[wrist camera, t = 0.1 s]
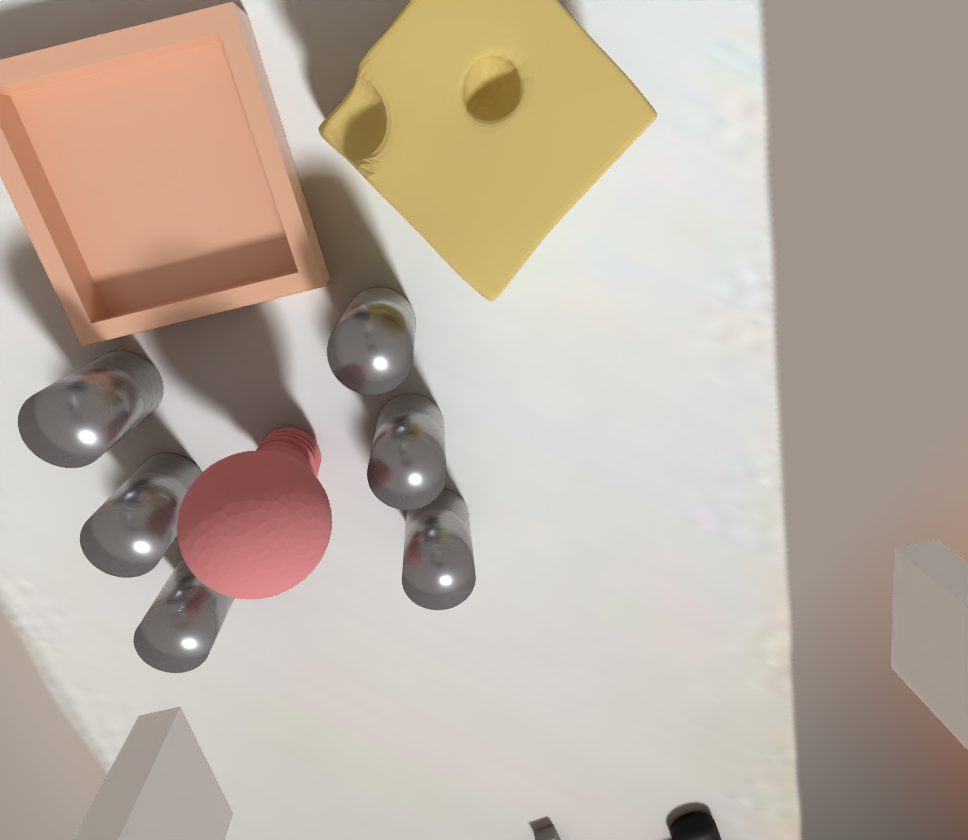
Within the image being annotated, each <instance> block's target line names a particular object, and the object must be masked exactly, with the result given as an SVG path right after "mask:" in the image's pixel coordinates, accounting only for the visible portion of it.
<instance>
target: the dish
mask: <svg viewBox="0 0 968 840" xmlns="http://www.w3.org/2000/svg"><path fill="white" fill-rule="evenodd" d="M0 176H1V178H2V180H3V183H4V185H5V187H6V189H7V191H8V193H9V195H10V197H11V199H12V202H13V204H14V206H15V208H16V210H17V212H18V214H19V216H20V218H21V221H22V223H23V225H24V227H25V229H26V231H27V233H28V235H29V237H30V240H31V242H32V244H33V246H34V248H35V250H36V252H37V254H38V256H39V259H40V261H41V263H42V265H43V267H44V269H45V271H46V273H47V275H48V278H49V280H50V282H51V284H52V286H53V288H54V290H55V292H56V294H57V297H58V299H59V301H60V303H61V305H62V307H63V309H64V311H65V314H66V316H67V318H68V320H69V322H70V324H71V326H72V328H73V330H74V333H75V335H76V337H77V339H78V341H79V343H80V345H81V346H85V345H89V344H93V343H97V342H101V341H105V340H110V339H114V338H118V337H122V336H126V335H130V334H134V333H138V332H142V331H146V330H150V329H154V328H158V327H162V326H166V325H170V324H175V323H179V322H183V321H187V320H191V319H195V318H199V317H203V316H207V315H211V314H215V313H219V312H223V311H227V310H231V309H236V308H240V307H244V306H248V305H252V304H256V303H260V302H264V301H268V300H272V299H276V298H280V297H284V296H288V295H292V294H297V293H301V292H305V291H309V290H313V289H317V288H321V287H324V286H325V285H326V284H327V282H328V281H329V280H330V276H329V272H328V269H327V266H326V263H325V260H324V257H323V253H322V250H321V247H320V244H319V241H318V237H317V234H316V231H315V228H314V225H313V222H312V218H311V215H310V212H309V209H308V206H307V202H306V199H305V196H304V193H303V190H302V187H301V183H300V180H299V177H298V174H297V171H296V167H295V164H294V161H293V158H292V155H291V152H290V148H289V145H288V142H287V139H286V136H285V132H284V129H283V126H282V123H281V120H280V117H279V113H278V110H277V107H276V104H275V101H274V97H273V94H272V91H271V88H270V85H269V82H268V78H267V75H266V72H265V69H264V66H263V62H262V59H261V56H260V53H259V50H258V47H257V43H256V40H255V37H254V34H253V31H252V27H251V24H250V21H249V18H248V15H247V14H246V13H245V12H244V11H243V10H242V9H240V8H239V7H238V6H237V5H236V4H235V3H233V2H228V3H224V4H220V5H216V6H212V7H208V8H204V9H200V10H196V11H192V12H189V13H185V14H181V15H177V16H173V17H169V18H165V19H161V20H157V21H153V22H149V23H145V24H141V25H137V26H133V27H129V28H125V29H121V30H117V31H113V32H109V33H105V34H101V35H97V36H93V37H89V38H85V39H81V40H77V41H73V42H69V43H65V44H61V45H57V46H53V47H49V48H45V49H41V50H37V51H33V52H29V53H25V54H21V55H17V56H13V57H9V58H5V59H1V60H0Z"/></svg>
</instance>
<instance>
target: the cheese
mask: <svg viewBox="0 0 968 840" xmlns="http://www.w3.org/2000/svg"><path fill="white" fill-rule="evenodd" d="M656 117H657V113H656V111H655V110H654V108H653V107H652V106H651V104H650V103H649V102H648V101H647V99H646V98H645V97H644V96H643V94H642V93H641V92H640V91H639V89H638V88H637V87H636V86H635V85H634V83H633V82H632V81H631V80H630V79H629V78H628V77H627V75H626V74H625V73H624V72H623V71H622V70H621V69H620V68H619V67H618V66H617V65H616V64H615V62H614V61H613V60H612V59H611V58H610V57H609V56H608V55H607V54H606V53H605V52H604V51H603V50H602V49H601V48H600V47H599V46H598V44H597V43H596V42H595V41H594V40H593V39H592V38H591V37H590V36H589V35H588V34H587V33H586V32H585V30H584V29H583V28H582V27H581V26H580V25H579V24H578V23H577V22H576V21H575V20H574V18H573V17H572V16H571V15H570V14H569V13H568V12H567V10H566V9H565V8H564V7H563V6H562V5H561V4H560V3H559V1H558V0H410V1H409V3H408V4H407V5H406V6H405V8H404V9H403V10H402V11H401V13H400V14H399V15H398V16H397V18H396V19H395V20H394V21H393V23H392V24H391V25H390V26H389V27H388V29H387V30H386V31H385V32H384V33H383V34H382V35H381V37H380V38H379V39H378V40H377V41H376V42H375V44H374V45H373V46H372V47H371V48H370V49H369V51H368V52H367V54H366V55H365V57H364V58H363V59H362V61H361V62H360V64H359V67H358V71H357V76H356V81H355V83H354V85H353V87H352V88H351V90H350V91H349V92H348V94H347V95H346V96H345V97H344V99H343V100H342V101H341V102H340V103H339V105H338V106H337V107H336V108H335V109H334V110H333V111H332V112H331V113H330V114H329V115H328V117H327V118H326V119H325V120H324V121H323V122H322V124H321V125H320V127H319V132H320V134H321V136H322V137H323V138H324V139H325V140H326V141H327V142H328V143H329V144H330V145H331V146H332V147H333V148H334V149H336V150H337V151H338V152H339V153H340V154H341V155H342V156H344V157H345V158H346V159H347V160H348V161H349V162H350V163H351V164H352V165H353V166H354V167H355V168H356V169H357V170H358V171H359V172H360V173H361V174H362V175H363V176H364V177H365V179H366V180H367V181H368V182H369V183H370V184H371V185H372V186H373V187H374V188H375V189H376V190H377V191H378V192H379V193H380V194H381V195H382V196H383V197H384V198H385V199H386V200H387V201H388V202H389V203H390V204H391V205H392V206H393V207H394V208H395V209H396V210H397V211H398V212H399V213H400V214H401V215H402V216H403V217H404V218H405V219H406V220H407V221H408V222H409V223H410V224H411V225H412V226H413V227H414V228H415V229H416V230H417V231H418V232H419V233H420V234H421V235H422V236H423V237H424V238H425V239H426V241H427V242H428V243H429V244H430V245H431V246H432V247H433V248H434V249H435V250H436V251H437V252H438V253H439V255H440V256H441V257H442V258H443V259H444V260H445V261H446V262H447V263H448V264H449V265H450V266H451V267H452V268H453V269H454V270H455V271H456V272H457V273H458V274H459V275H460V276H461V277H462V278H463V279H464V280H465V281H466V282H467V283H468V284H469V285H471V286H472V287H473V288H474V289H475V290H476V291H477V292H479V293H480V294H481V295H482V296H483V297H485V298H486V299H487V300H489V301H493V300H495V299H496V298H497V297H498V296H499V295H500V293H501V292H502V291H503V290H504V289H505V287H506V286H507V285H508V284H509V282H510V281H511V280H512V279H513V277H514V276H515V275H516V273H517V272H518V271H519V270H520V268H521V267H522V266H523V264H524V263H525V262H526V261H527V259H528V258H529V257H530V255H531V254H532V253H533V252H534V250H535V249H536V248H537V247H538V245H539V244H540V243H541V242H542V240H543V239H544V238H545V237H546V236H547V234H548V233H549V232H550V231H551V230H552V229H553V228H554V226H555V225H556V224H557V223H558V222H559V221H560V220H561V219H562V218H563V216H564V215H565V214H566V213H567V212H568V211H569V210H570V209H571V208H572V207H573V206H574V205H575V204H576V203H577V201H578V200H579V199H580V198H581V197H582V196H583V195H584V194H585V193H586V192H587V191H588V190H589V189H590V188H591V187H592V186H593V185H594V184H595V183H596V181H597V180H598V179H599V178H600V177H601V176H602V175H603V174H604V173H605V172H606V171H607V170H608V169H609V167H610V166H611V165H612V164H613V163H614V162H615V161H616V160H617V159H618V158H619V157H620V156H621V155H622V154H623V153H624V152H625V151H626V150H627V149H628V147H629V146H630V145H631V144H632V143H633V142H634V141H635V140H636V139H637V138H638V137H639V136H640V135H641V134H642V133H643V132H644V131H645V130H646V129H647V127H648V126H649V125H650V124H651V123H652V122H653V121H654V120H655V119H656Z"/></svg>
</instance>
